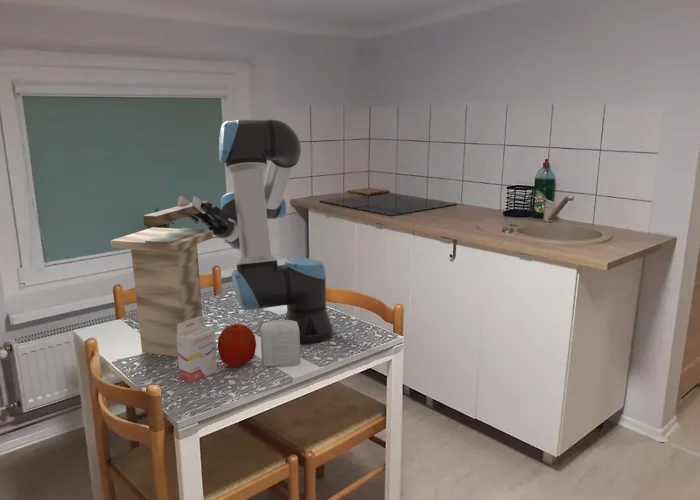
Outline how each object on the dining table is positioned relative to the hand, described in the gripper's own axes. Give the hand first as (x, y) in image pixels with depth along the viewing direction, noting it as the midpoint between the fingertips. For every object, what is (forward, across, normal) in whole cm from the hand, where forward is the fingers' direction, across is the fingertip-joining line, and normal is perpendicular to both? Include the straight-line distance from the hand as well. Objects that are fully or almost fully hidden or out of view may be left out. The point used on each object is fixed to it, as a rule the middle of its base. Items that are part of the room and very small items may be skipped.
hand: (186, 200), depth 161 cm
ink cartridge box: (0, -15, -48) cm, 50 cm away
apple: (-7, -22, -43) cm, 49 cm away
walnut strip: (+2, 0, -6) cm, 6 cm away
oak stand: (-12, +1, -41) cm, 42 cm away
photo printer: (-10, -33, -42) cm, 54 cm away
